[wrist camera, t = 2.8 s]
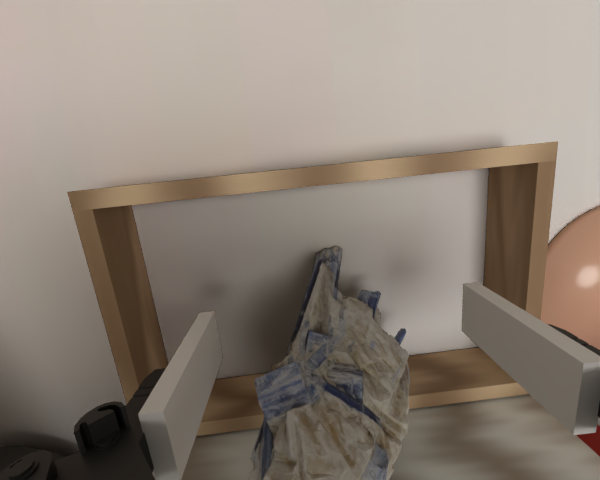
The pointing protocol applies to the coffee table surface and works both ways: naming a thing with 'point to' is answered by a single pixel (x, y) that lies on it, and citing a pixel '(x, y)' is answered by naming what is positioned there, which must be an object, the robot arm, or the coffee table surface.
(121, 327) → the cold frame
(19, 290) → the coffee table surface
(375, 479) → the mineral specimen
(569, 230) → the peach round smooth part
